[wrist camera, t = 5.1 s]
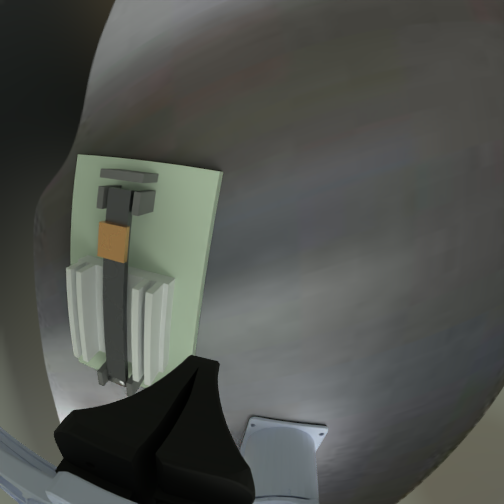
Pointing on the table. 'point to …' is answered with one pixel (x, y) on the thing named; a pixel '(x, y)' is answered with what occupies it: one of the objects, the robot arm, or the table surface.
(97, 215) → the heatsink board
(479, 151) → the table surface
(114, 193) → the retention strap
